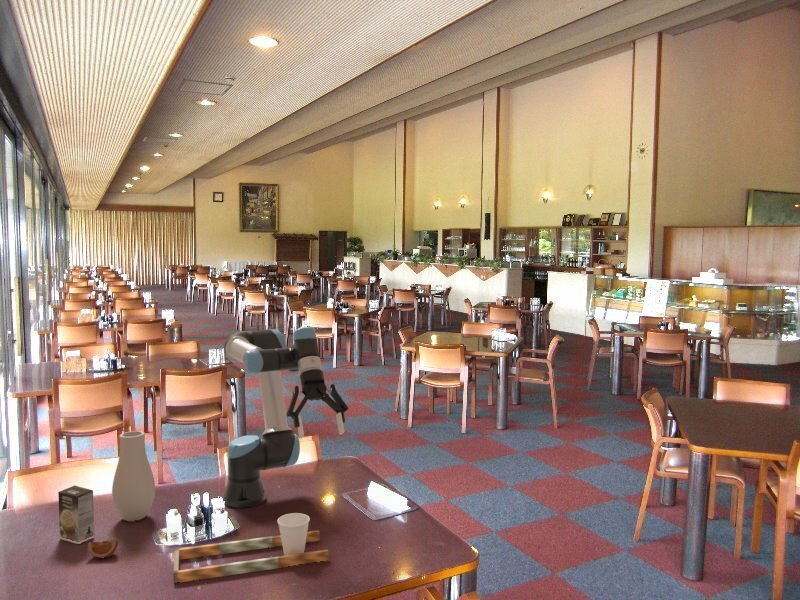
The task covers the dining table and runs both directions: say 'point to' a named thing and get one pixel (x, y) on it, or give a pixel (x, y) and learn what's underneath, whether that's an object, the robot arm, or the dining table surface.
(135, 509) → the vase
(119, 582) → the dining table surface
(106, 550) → the fruit slice
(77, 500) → the coffee box
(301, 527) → the cup
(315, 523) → the dining table surface
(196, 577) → the track
